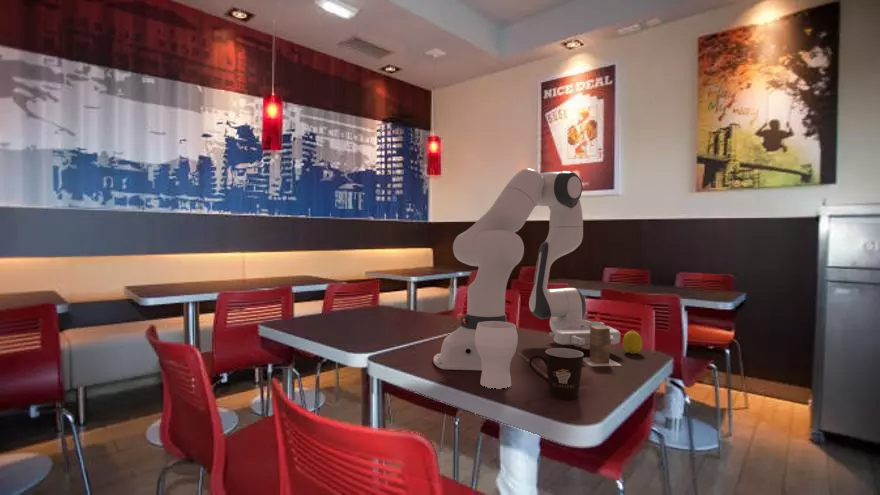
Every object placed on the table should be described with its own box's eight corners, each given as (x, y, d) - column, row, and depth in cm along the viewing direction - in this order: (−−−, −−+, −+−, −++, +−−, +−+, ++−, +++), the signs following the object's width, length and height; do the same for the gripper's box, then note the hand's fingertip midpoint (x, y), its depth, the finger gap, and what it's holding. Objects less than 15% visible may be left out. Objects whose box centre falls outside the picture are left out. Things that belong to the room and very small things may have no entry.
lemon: (644, 357, 137) (645, 332, 137) (626, 357, 137) (627, 331, 137) (637, 353, 142) (637, 328, 142) (619, 352, 142) (620, 328, 142)
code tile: (591, 368, 125) (591, 366, 125) (578, 359, 134) (578, 357, 134) (621, 367, 126) (621, 365, 126) (606, 359, 135) (606, 356, 135)
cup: (524, 389, 107) (525, 327, 106) (482, 393, 104) (483, 329, 104) (507, 376, 117) (507, 319, 117) (469, 379, 115) (469, 321, 114)
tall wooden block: (596, 363, 128) (596, 328, 127) (589, 359, 132) (590, 326, 131) (609, 363, 128) (609, 328, 128) (602, 359, 132) (603, 326, 132)
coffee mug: (589, 395, 103) (590, 352, 103) (571, 404, 97) (572, 359, 97) (545, 383, 111) (546, 344, 111) (526, 391, 105) (527, 350, 105)
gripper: (547, 323, 143) (564, 331, 129) (607, 322, 145) (630, 330, 132) (547, 342, 143) (564, 353, 129) (606, 341, 146) (629, 351, 132)
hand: (598, 342), depth 131 cm, fingers open, 8 cm apart
